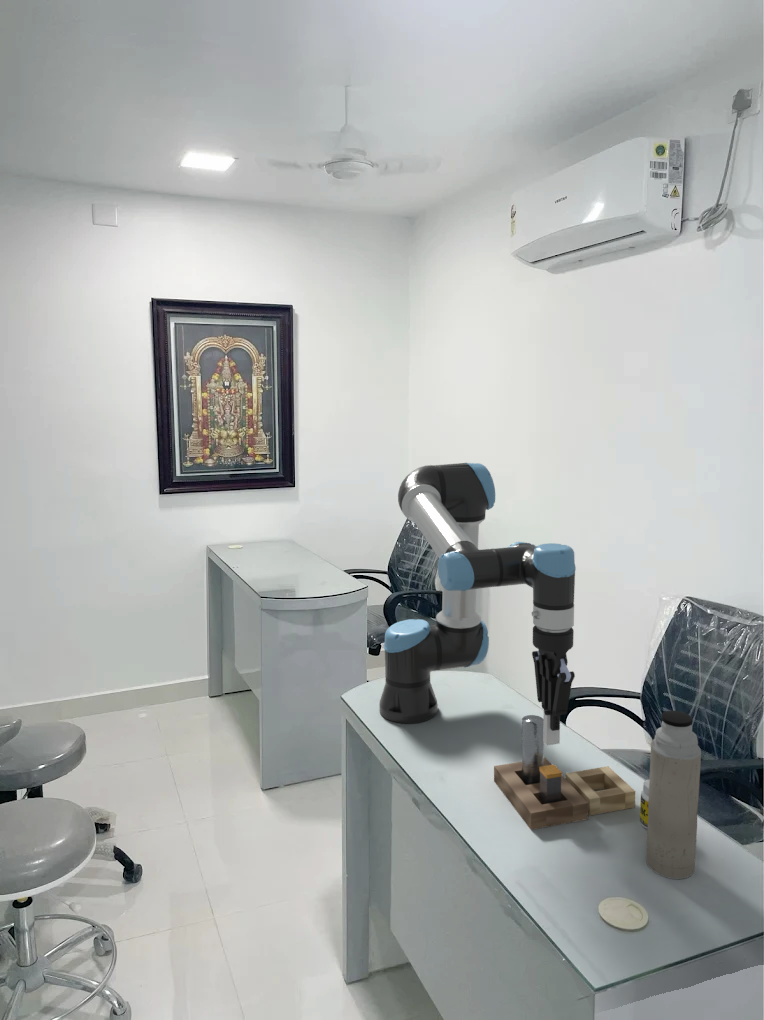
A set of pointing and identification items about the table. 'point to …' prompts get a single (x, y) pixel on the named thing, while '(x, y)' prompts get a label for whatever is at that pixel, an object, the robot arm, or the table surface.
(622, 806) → the frame
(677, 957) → the table surface
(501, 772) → the socket block
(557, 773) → the key
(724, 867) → the table surface
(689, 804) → the thermos bottle
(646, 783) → the supplement bottle
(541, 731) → the grey metal cylinder
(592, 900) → the table surface
